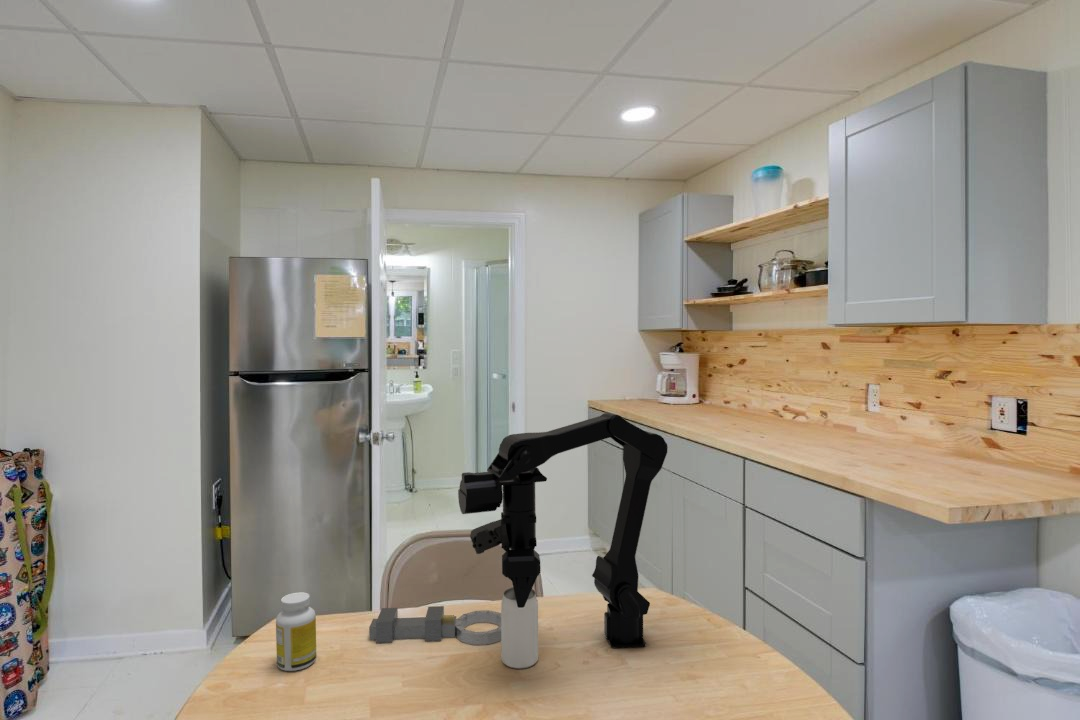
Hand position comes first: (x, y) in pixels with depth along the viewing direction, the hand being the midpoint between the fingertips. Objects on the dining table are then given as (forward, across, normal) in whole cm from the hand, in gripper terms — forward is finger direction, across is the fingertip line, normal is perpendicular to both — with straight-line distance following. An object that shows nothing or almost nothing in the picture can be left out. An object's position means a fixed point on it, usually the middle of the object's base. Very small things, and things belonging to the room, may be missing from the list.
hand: (519, 595), depth 107 cm
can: (+12, 0, 0) cm, 12 cm away
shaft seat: (+11, -11, -15) cm, 22 cm away
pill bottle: (+12, -2, -39) cm, 41 cm away
